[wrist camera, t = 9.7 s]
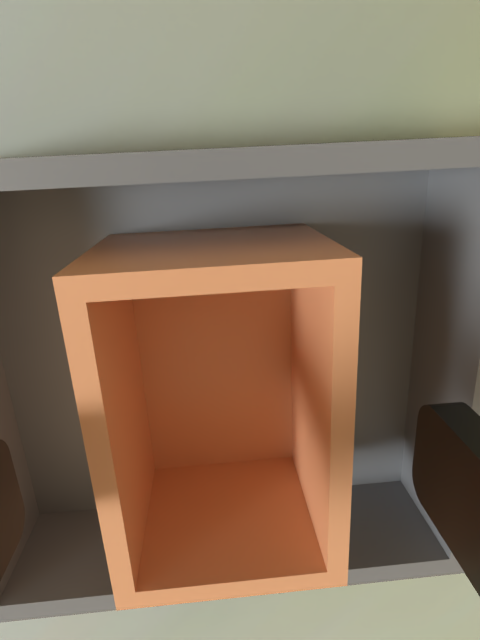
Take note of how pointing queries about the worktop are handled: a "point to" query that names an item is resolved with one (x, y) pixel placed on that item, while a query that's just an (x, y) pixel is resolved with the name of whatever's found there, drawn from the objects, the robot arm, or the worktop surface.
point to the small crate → (216, 407)
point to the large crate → (224, 212)
